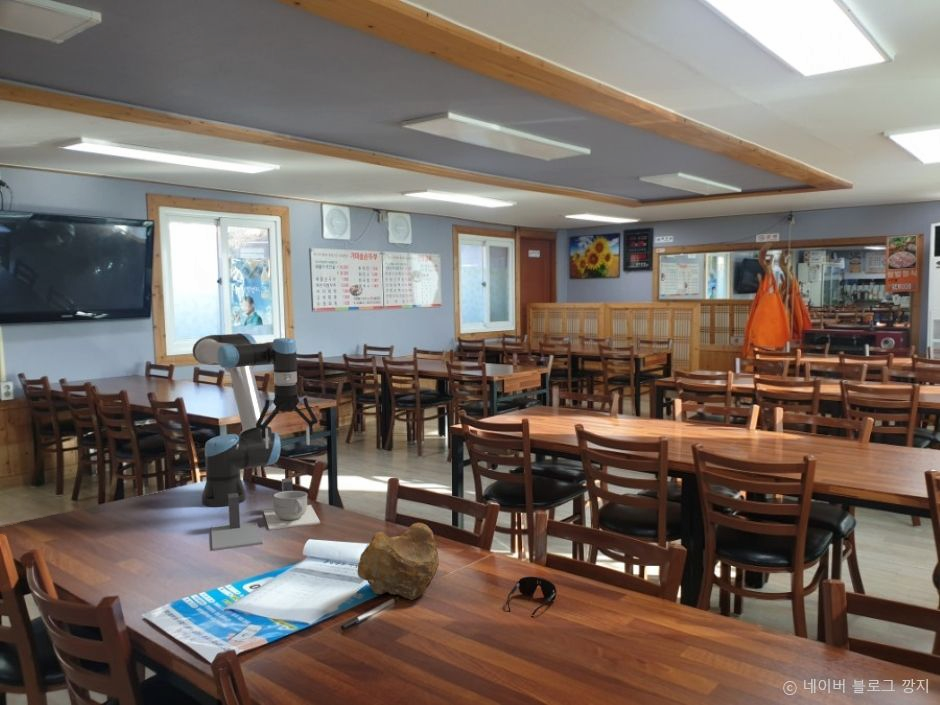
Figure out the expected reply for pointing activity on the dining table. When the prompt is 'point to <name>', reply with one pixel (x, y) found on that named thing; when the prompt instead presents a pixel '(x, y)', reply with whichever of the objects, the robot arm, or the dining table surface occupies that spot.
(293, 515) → the teacup
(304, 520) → the grey plate with post
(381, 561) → the rough brown rock
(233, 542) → the gray post stand
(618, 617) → the dining table surface
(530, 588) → the sunglasses
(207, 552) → the dining table surface
